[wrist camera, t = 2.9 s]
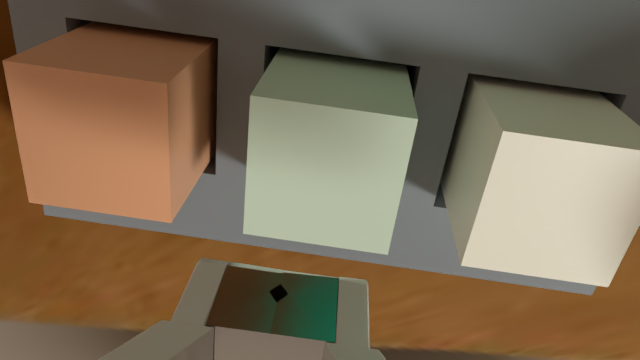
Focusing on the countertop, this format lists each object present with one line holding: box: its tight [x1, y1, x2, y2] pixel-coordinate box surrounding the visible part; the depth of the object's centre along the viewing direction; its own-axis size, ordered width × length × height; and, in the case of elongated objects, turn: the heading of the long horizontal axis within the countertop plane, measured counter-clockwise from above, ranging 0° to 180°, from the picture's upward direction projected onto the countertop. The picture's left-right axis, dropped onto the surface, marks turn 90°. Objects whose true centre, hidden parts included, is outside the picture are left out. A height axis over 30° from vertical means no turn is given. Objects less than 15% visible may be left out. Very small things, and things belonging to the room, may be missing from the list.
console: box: [7, 0, 640, 295], centre depth 18 cm, size 20×10×5 cm, turn 83°
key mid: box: [243, 47, 418, 255], centre depth 16 cm, size 4×4×6 cm
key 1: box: [2, 21, 218, 223], centre depth 16 cm, size 4×4×6 cm
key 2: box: [440, 73, 640, 287], centre depth 16 cm, size 4×4×6 cm
